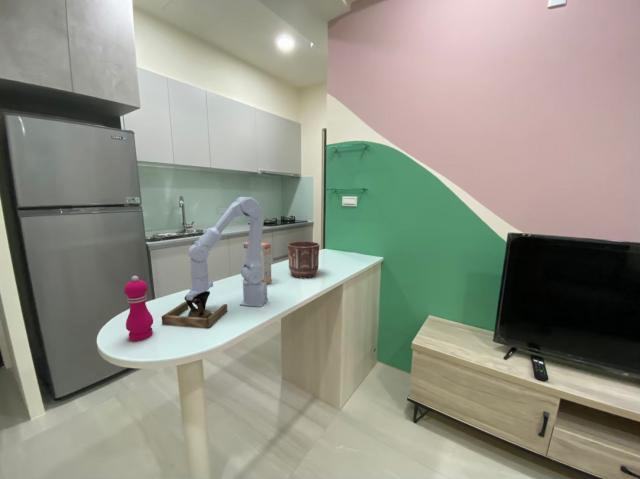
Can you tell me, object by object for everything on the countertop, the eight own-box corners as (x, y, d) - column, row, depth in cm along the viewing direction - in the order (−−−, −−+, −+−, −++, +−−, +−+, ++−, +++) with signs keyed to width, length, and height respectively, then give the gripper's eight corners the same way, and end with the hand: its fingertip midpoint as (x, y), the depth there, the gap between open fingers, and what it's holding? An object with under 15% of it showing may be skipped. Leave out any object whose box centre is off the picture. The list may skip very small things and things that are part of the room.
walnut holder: (227, 311, 103) (226, 304, 103) (209, 328, 90) (208, 320, 90) (185, 308, 105) (185, 301, 105) (162, 324, 92) (161, 316, 92)
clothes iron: (196, 326, 92) (184, 300, 90) (184, 324, 99) (173, 300, 98) (214, 315, 97) (204, 291, 95) (202, 314, 104) (191, 291, 103)
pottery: (305, 268, 164) (305, 240, 161) (325, 275, 151) (325, 244, 148) (282, 274, 152) (281, 243, 149) (301, 282, 139) (300, 248, 136)
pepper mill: (136, 330, 88) (129, 272, 85) (158, 330, 89) (153, 272, 85) (121, 342, 81) (114, 279, 77) (146, 341, 81) (140, 279, 78)
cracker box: (272, 282, 137) (271, 243, 134) (263, 286, 132) (262, 244, 129) (252, 278, 145) (251, 240, 141) (244, 280, 140) (243, 241, 136)
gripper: (200, 270, 106) (202, 302, 109) (177, 282, 92) (179, 318, 94) (217, 271, 105) (218, 303, 108) (195, 283, 91) (198, 320, 94)
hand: (201, 310), depth 101 cm, fingers closed, pressing on clothes iron
